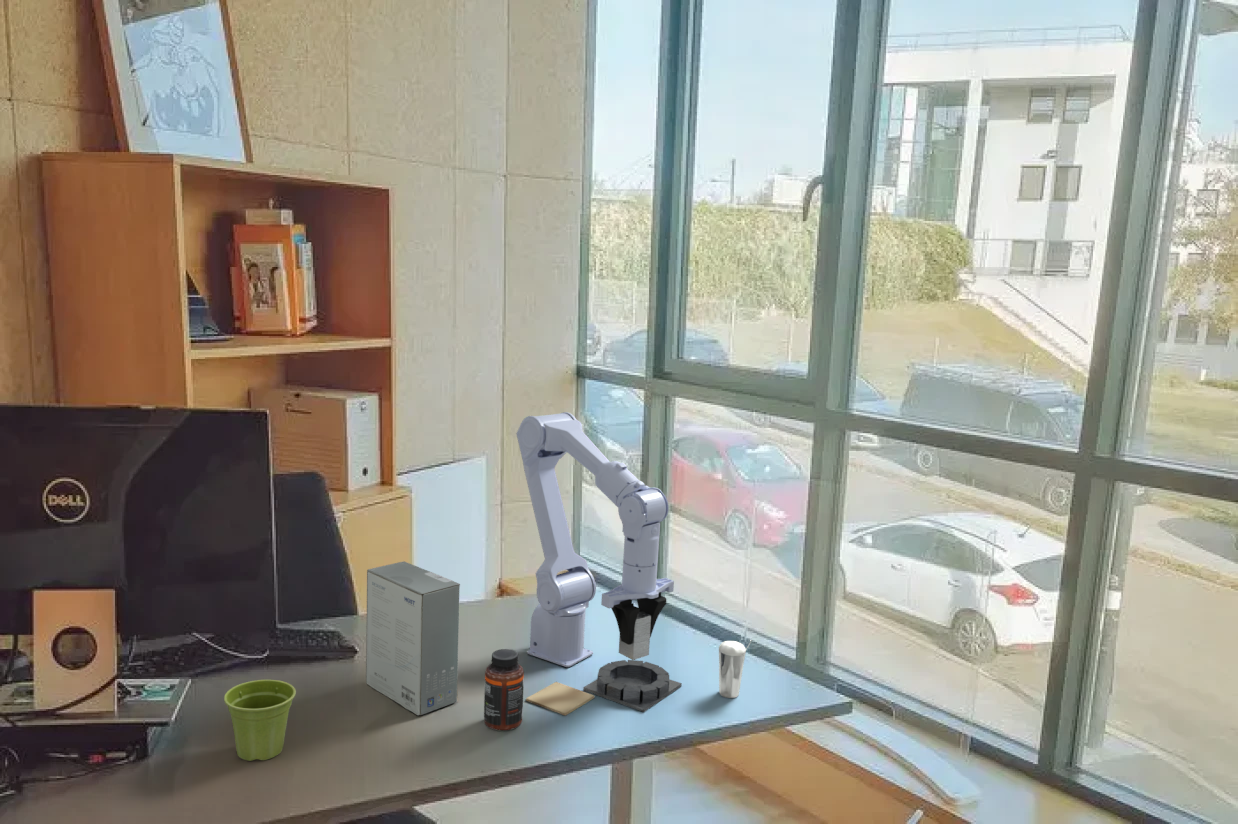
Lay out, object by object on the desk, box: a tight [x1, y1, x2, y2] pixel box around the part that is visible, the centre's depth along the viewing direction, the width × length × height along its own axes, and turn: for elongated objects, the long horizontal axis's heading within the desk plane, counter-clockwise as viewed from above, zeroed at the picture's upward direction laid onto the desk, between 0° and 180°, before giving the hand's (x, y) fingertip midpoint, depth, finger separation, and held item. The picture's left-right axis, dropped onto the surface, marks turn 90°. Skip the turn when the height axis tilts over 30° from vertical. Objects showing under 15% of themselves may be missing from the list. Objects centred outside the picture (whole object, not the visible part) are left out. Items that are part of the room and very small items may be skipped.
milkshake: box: [718, 639, 753, 699], centre depth 160 cm, size 4×5×10 cm
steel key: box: [618, 611, 651, 660], centre depth 160 cm, size 4×4×7 cm
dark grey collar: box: [582, 659, 683, 713], centre depth 161 cm, size 12×12×2 cm
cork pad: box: [525, 681, 596, 716], centre depth 156 cm, size 8×8×1 cm
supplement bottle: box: [483, 648, 525, 732], centre depth 146 cm, size 6×6×11 cm
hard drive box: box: [365, 560, 461, 716], centre depth 154 cm, size 16×8×20 cm, turn 47°
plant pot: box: [223, 679, 297, 762], centre depth 135 cm, size 9×9×9 cm
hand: (635, 639), depth 160 cm, fingers closed on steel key, 4 cm apart
